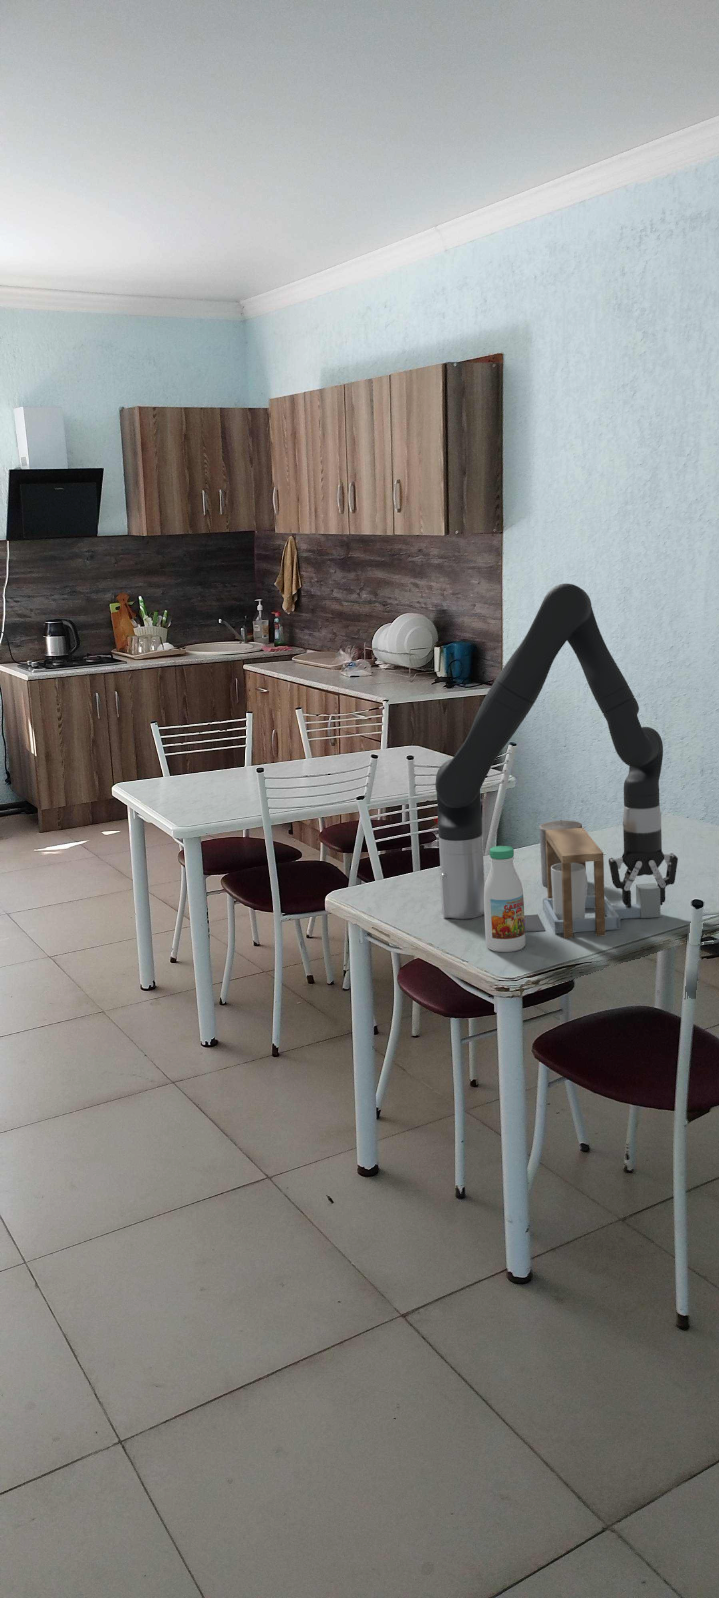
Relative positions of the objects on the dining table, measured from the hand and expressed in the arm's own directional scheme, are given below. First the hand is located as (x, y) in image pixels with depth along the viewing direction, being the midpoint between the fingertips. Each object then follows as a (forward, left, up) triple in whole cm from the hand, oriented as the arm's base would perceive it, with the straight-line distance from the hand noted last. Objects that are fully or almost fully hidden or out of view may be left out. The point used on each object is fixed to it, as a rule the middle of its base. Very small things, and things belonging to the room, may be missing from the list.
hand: (644, 905), depth 240 cm
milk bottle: (-30, -12, -3) cm, 33 cm away
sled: (-8, 0, -2) cm, 9 cm away
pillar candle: (-12, +26, -3) cm, 29 cm away
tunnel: (-14, 0, -2) cm, 14 cm away
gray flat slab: (-24, 0, -2) cm, 24 cm away
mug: (-15, 0, -3) cm, 15 cm away
